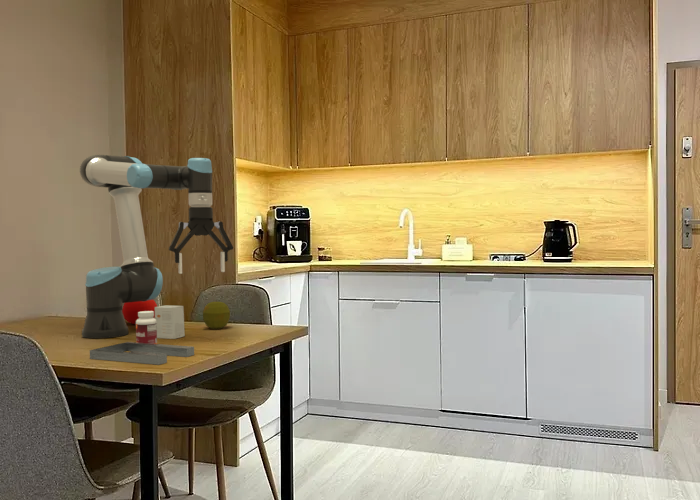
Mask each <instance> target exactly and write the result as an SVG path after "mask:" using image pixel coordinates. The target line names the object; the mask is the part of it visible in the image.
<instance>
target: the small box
mask: <svg viewBox="0 0 700 500" xmlns="http://www.w3.org/2000/svg"><path fill="white" fill-rule="evenodd" d="M184 311H185V310H184V305H170V304H169V305H159V306H157V307H155V317H154V318H155V319H156V323H157V339H167V340H169V339H170V340H175V339H180V338H182V337H183V338H184V337H185V314H184V313H185V312H184Z"/></svg>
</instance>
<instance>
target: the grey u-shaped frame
mask: <svg viewBox="0 0 700 500" xmlns="http://www.w3.org/2000/svg"><path fill="white" fill-rule="evenodd" d="M168 356H169V357H182V358H188V357H192V356H195V347H194V346H192V345H189V346H188V345H178V344H177V345H175V344H163V343H157V344H150V343H136V342H133V341H125V342H121V343H117V344H113V345H107V346H103V347H99V348H94V349H90V350H89V359H90V360H102V361H113V362H121V363H122V362H125V363H135V364H145V365H154V366H155V365H157V366H159V365H162V364H163V365H164V364H166V363H168Z"/></svg>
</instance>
